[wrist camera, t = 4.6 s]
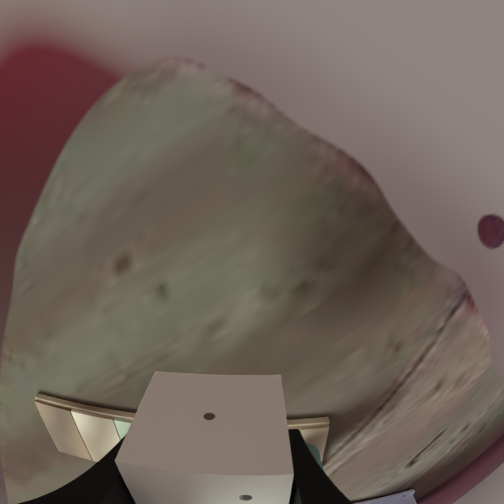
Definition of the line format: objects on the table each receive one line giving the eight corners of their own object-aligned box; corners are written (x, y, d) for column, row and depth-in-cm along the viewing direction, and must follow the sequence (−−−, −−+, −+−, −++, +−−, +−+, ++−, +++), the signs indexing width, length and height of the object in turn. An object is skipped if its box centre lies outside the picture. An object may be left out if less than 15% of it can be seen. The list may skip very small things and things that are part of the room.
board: (328, 416, 20) (330, 424, 19) (316, 470, 22) (318, 477, 21) (38, 393, 20) (33, 398, 19) (62, 446, 22) (59, 452, 21)
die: (280, 373, 12) (294, 474, 7) (275, 454, 13) (281, 540, 8) (155, 370, 12) (113, 460, 7) (172, 450, 13) (151, 531, 8)
